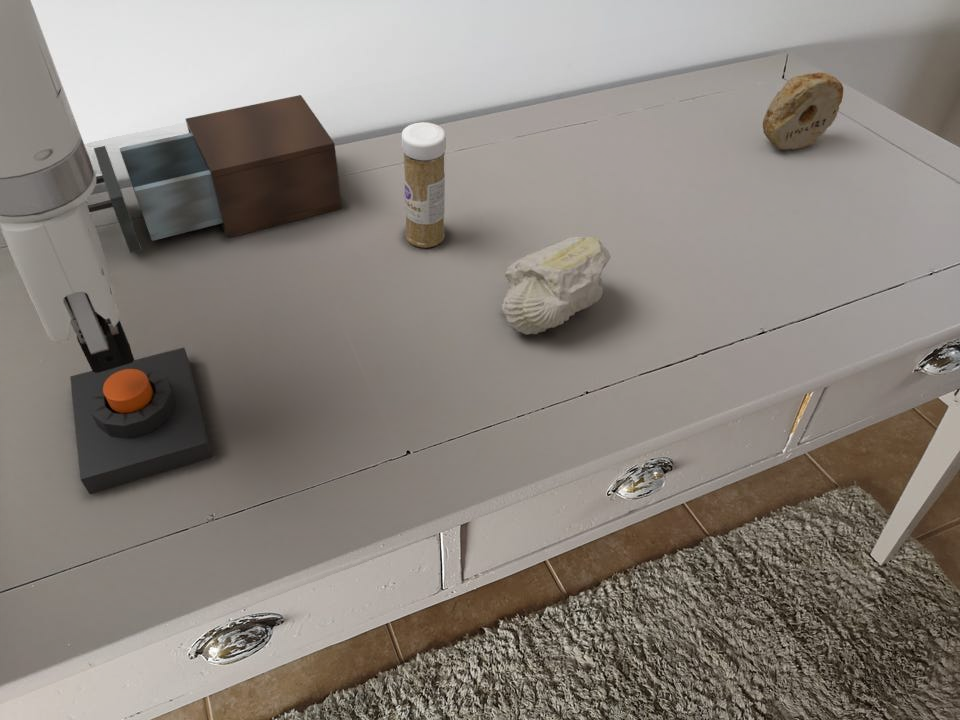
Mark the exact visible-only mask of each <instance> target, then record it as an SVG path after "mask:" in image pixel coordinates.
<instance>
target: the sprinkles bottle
mask: <svg viewBox="0 0 960 720" xmlns="http://www.w3.org/2000/svg"><path fill="white" fill-rule="evenodd" d="M446 134H447V133H446V132H445V130H444V129H443V128H442V127H441V126H440V125H437V124H435V123H432V122H423V121H421V122H414V123H411V124H409V125H407V126H406V127H405V128H403V130H402V131H401V151H402V153H403V164H404V165H403V166H404V209H405V210H404V212H405V223H406V224H405V226H406V229H405V239H406V240H407V242H408V243H409V244H410V245H412V246H415V247H417V248H423V249H424V248H425V249H426V248H427V249H428V248H432V247H435V246H438V245H439V244H441V243H442V242H443V241H444V239H445V237H446V236H445V235H446V234H445V233H446V232H445V225H444V223H445V220H444V219H445V201H446V199H445V196H446V195H445V194H446V193H445V192H446V191H445V189H446V187H445V186H446V184H445V183H446V181H445V177H446V175H445V153H446V150H447V136H446Z"/></svg>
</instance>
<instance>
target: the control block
mask: <svg viewBox="0 0 960 720" xmlns="http://www.w3.org/2000/svg"><path fill="white" fill-rule="evenodd" d="M125 369H137V370H140V371H142V372H143V373H145V374H146V376H147V378H148V380H149V382H150V385H151V387H152V390H153V396H152V399H151V401H150V402H149V404H148V405H147V406H145V407H144V408H143V409H141V410H139V411H136V412H133V413H119V412H116V411H114V410H113V409H112V408H111V407H110V405H109V403H108V401H107V399H106V397H105V395H104V393H103V386H104V383H105V381H106V380H107V379H108V378H109V377H110V376H111V375H113V374H114V373H116V372H118V371H121V370H125ZM69 377H70V378H69V380H70V389H71V398H72V399H71V400H72V408H73V409H72V410H73V417H74V419H73V420H74V428H75V438H76V439H75V440H76V448H77V458H78V468H79V469H78V470H79V478H80V482H81V483H82V484H83V486H84V488H85V490H86V492H87V493H88V494H93V493H98V492H101V491H103V490H108V489H110V488H114V487H118V486H121V485H124V484H128V483H130V482H133V481H137V480H140V479H145V478H148V477H151V476H155V475H157V474H160V473H164V472H168V471H171V470H174V469H178V468H181V467H185V466H188V465H191V464H194V463H197V462H201V461H204V460H208V459H212V458H213V454H212V450H211V446H210V442H209V438H208V434H207V429H206V425H205V421H204V416H203V413H202V407H201V404H200V400H199V396H198V392H197V388H196V384H195V379H194V376H193V372H192V367H191V363H190V360H189V357H188V353H187V351H186V348H185V347H180V348H176V349H172V350H170V351H164V352H161V353H156V354H153V355H148V356H145V357H141V358H137V359H134V361H133V362H132V363H129V364H126V365H123V366H119V367H116V368H113V369H109V370H106V371H103V372H99V373H95V372H93V371H92V370H90V371H86V372H81V373H78V374H74V375H71V376H69Z"/></svg>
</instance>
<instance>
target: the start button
mask: <svg viewBox="0 0 960 720" xmlns="http://www.w3.org/2000/svg"><path fill="white" fill-rule="evenodd" d="M103 393H104V395H105V397H106V399H107V401H108V403H109V405H110V407H111V408H112V409H113V410H114V411H116V412H119V413H133V412H136V411H139V410H141V409H143V408H144V407H145V406H147V405H148V404H149V402H150V401H151V399H152V396H153V390H152V387H151V385H150V382H149V380H148V378H147V376H146V374H145V373H143V372H142V371H140V370H137V369H125V370H121V371H118V372H116V373H114V374H113V375H111V376H110V377H109V378H108V379H107V380H106V381H105V383H104V386H103Z"/></svg>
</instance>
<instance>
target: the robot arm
mask: <svg viewBox="0 0 960 720" xmlns="http://www.w3.org/2000/svg"><path fill="white" fill-rule="evenodd" d="M96 176H97V175H96V172H95V169H94V167H93V164H92V161H91V158H90V156H89V153H88V151H87V148H86V145H85V142H84V140H83V137H82V134H81V132H80V129H79V127H78V124H77V121H76V118H75V116H74V112H73V110H72V108H71V105H70V103H69V99H68V97H67V94H66V92H65V89H64V86H63V84H62V80H61V78H60V75H59V72H58V71H57V67H56V65H55V62H54V60H53V56H52V54H51V52H50V49H49V47H48V43H47V41H46V38H45V35H44V33H43V30H42V27H41V25H40V22H39V18H38V15H37V14H36V11H35V8H34V6H33V3H32V1H31V0H0V230H1V233H2V235H3V238H4V240H5V244H6V246H7V248H8V250H9V253H10V255H11V259H12V260H13V263H14V265H15V267H16V269H17V272H18V274H19V276H20V278H21V281H22V283H23V284H24V287H25V289H26V292H27V293H28V296H29V297H30V300H31V302H32V304H33V307H34V308H35V310H36V313H37V315H38V317H39V319H40V321H41V324H42V327H43V329H44V331H45V333H46V335H47V337H48V339H49V340H50V341H52V342H54V343H57V344H60V343H62V342H66V341H69V339H70V334H71V327H72V329H73V330H74V333H75V334H76V341H77V342H78V344H79V346H80V349H81V350H82V353H83V354H84V355H83V356H84V357H85V359H86V361H87V363H88V365H89V367H90V369H91V371H93V372H95V373H99V372H103V371H106V370H109V369H113V368H116V367H119V366H123V365H126V364H129V363H132V362H133V361H134V360H135V358H134V354H133V351H132V348H131V344H130V342H129V340H128V337H127V334H126V333H125V330H124V328H123V325H122V323H121V321H120V320H121V319H120V313H119V310H118V305H117V299H116V295H115V291H114V287H113V282H112V279H111V275H110V270H109V266H108V262H107V259H106V255H105V252H104V249H103V246H102V243H101V240H100V237H99V234H98V231H97V227H96V225H95V223H94V220H93V217H92V215H91V212H89V209H88V206H87V205H88V204H87V201H86V200H87V199H88V198H90V196H91V195H92V193H93V192H94V191H95V188H96V185H97V184H96Z"/></svg>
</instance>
